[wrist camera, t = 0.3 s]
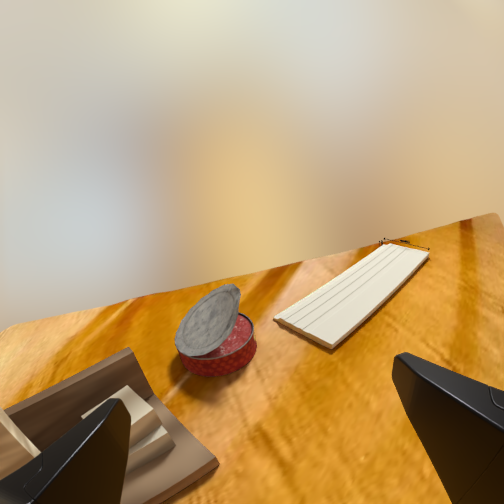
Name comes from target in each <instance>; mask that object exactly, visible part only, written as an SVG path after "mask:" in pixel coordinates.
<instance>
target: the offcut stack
mask: <svg viewBox="0 0 504 504" xmlns="http://www.w3.org/2000/svg"><path fill="white" fill-rule="evenodd" d="M109 398H120V399H121V400H122V401H123V402H124V404H125V406H126V408H127V410H128V411H129V413H130V415H131V430H130V442H129V454H128V462H127V467H126V472H125V475H127V474H129V473H131V472H133V471H134V470H136V469H138V468H140V467H141V466H143V465H145V464H146V463H148V462H150V461H152V460H153V459H155V458H157V457H158V456H160V455H161V454H163V453H165V452H166V451H168V450H170V449H171V448H173V447H174V446H176V444H175V443H174V441H173V440H172V438H171V437H170V435H169V434H168V432H167V431H166V430H165V429H164V428H163V426H162V424H163V423H162V422H161V420H160V418H159V417H158V415H157V414H156V412H155V410H154V409H153V408H152V407H151V406H150V405H149V404H148V403H146V402H145V401H144V400H143V399H142V398H141V397H140V396H138V395H137V394H136V393H135V392H134V391H133V390H132V389H131V388H130V387H129V386H128V385H127V386H125V387H124V388H122V389H121V390H119V391H118V392H116V393H115V394H113V395H112V396H111V397H109ZM109 398H108V399H109ZM106 400H107V399H106ZM106 400H105V401H106ZM105 401H103V402H102V403H100V404H99V405H97V406H96V407H94V408H93V409H91V410H90V411H88V412H87V413H85V414H84V415H82V416H81V417H82V418H83V419H84V418H85V417H86V416H88V415H89V414H90V413H91V412H93V411H94V410H95V409H96V408H98V407H99V406H100V405H101V404H103V403H104V402H105Z"/></svg>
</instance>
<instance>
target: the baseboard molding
mask: <svg viewBox="0 0 504 504" xmlns="http://www.w3.org/2000/svg"><path fill="white" fill-rule="evenodd" d="M384 239H385V238H384ZM392 241H393V240H392ZM400 241H401V243H402V242H405V244H406V242H407V241H406V240H405V241H404V240H400ZM396 242H398V241H396ZM409 242H410V241H409ZM381 243H382V245H381V247H379V248H378V249H377V250H375V251H374V252H372V253H371V254H369V255H368V256H367V257H365V258H364V259H362V260H361V261H359V262H358V263H356V264H355V265H354V266H352V267H351V268H349V269H348V270H346V271H345V272H343V273H342V274H340V275H339V276H337V277H336V278H334V279H333V280H331V281H330V282H328V283H327V284H325V285H323V286H322V287H320V288H319V289H317V290H316V291H314V292H313V293H311V294H309V295H308V296H306V297H305V298H303V299H302V300H300V301H298V302H297V303H295V304H294V305H292V306H290V307H289V308H287V309H286V310H284V311H282V312H281V313H279V314H277V315H276V316H274V317H273V319H274V320H276V321H277V322H279V323H281V324H283V325H285V326H287V327H289V328H291V329H292V330H294V331H296V332H298V333H300V334H302V335H304V336H306V337H308V338H309V339H311V340H313V341H315V342H317V343H319V344H321V345H323V346H325V347H327V348H329V349H331V350H332V349H333V348H334V347H335V346H336V345H337V344H339V343H340V342H341V341H342V340H343V339H345V338H346V337H347V336H348V335H349V334H350V333H351V332H353V331H354V330H355V329H356V328H357V327H358V326H359V325H360V324H362V323H363V322H364V321H365V320H366V319H367V318H368V317H369V316H370V315H371V314H372V313H373V312H375V311H376V310H377V309H378V308H379V307H380V306H381V305H382V304H383V303H384V302H385V301H386V300H387V299H388V298H389V297H390V296H391V295H392V294H393V293H394V292H395V291H396V290H397V289H398V288H399V287H400V286H401V285H402V284H403V283H404V282H405V281H406V280H407V279H408V278H409V277H410V276H411V275H412V274H413V273H414V272H415V271H416V270H417V269H418V268H419V266H420V265H421V264H422V263H423V262H424V261H425V260H426V259H427V258H428V256H429V253H428V252H424V251H420V250H416V249H410V248H407V247H402V246H399V245H398V246H397V245H393V244H391V243H390V244H388V245H383V242H381ZM407 243H408V242H407ZM379 245H380V241H379ZM409 245H411V244H409ZM413 246H415V245H413ZM418 247H419V246H418ZM422 248H423V247H422ZM426 249H428V250H429V247H428V248H426Z"/></svg>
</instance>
